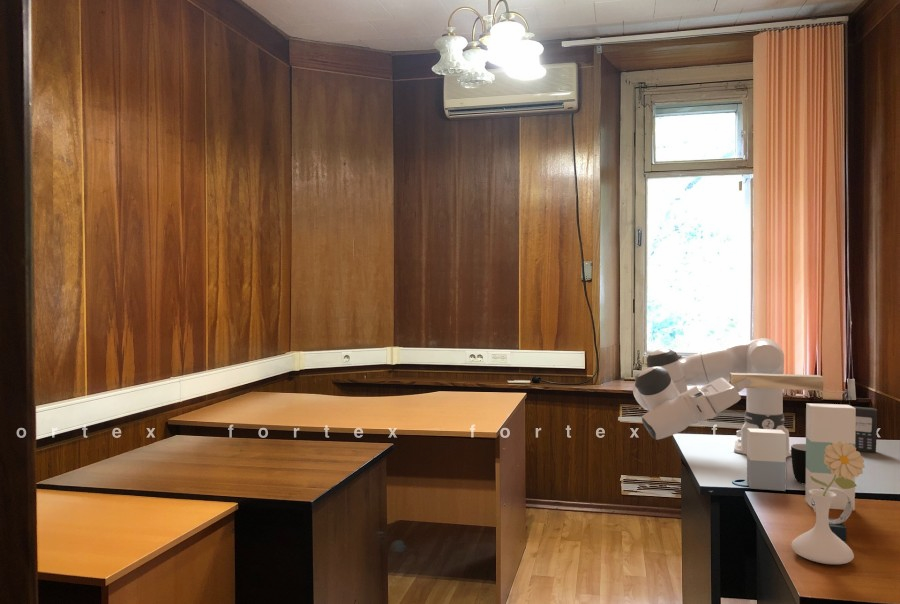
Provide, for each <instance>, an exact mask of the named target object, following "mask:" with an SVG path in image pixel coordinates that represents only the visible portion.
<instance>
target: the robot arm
mask: <svg viewBox="0 0 900 604" xmlns="http://www.w3.org/2000/svg"><path fill="white" fill-rule="evenodd" d="M646 366H647V368H645V369H644V370H642V371H641V372H639V373H638V374H637V375H636V376H635V377H634V380H635V381H634V383H633V387H632V393H633V396H634V398H635V401H636V402H637V404H639V405H640V407H641V408H643V409H644V410H646V411H648V412H646V413H644V414H643V415H642V416H641V421H642V424H643V426H644V428H645V429H646V431H647V432H648V434H649V435H650V437H652V439H654V440H657V441H658V440H662V439H666V438H669V437H671V436H673V435H677V434H679V433H680V432H682V431H684V430H686V429H687V428H688V427H689V426H692V425H694V424H699V423H701V422H702V421H705V420H712V419H714V418H716V417H717V414H718V413H721V412H723V411H725V410H726V409H728V408H730V407H731V406H734V405H735V404H737V403H738V402H739V401H741V399H742V397H741V395H740V392H741V391H743V390H744V389H746V410H745V411H744V424H743V425H742V427H741V428H740V429H738V430H736V437H737V438H738V440H737V439H736V440H735V442H734V447H733V452H734V453H736V454H737V453H738V454H743V455H746V456H747V428H753V429H775V430H782V431H783V432H785V433H786V458H787V457H788V458H789V457H791V447H790V432H789V430H788V428H787V427H785V425H784V424H785V414H784V413H783V411H784V410H783V404H784V403H783V395H784V392H783V391H784V389H760V388H745V387H747V386H749V385H751V381H750V379H749V378H745V379H743V380H741V381H740V382H738V383H735V384H733V385H731V384H730V373H754V374H785V373H784V371H785V354H784V351H783V349H782V347H781V346H780V345H779V344H778V343H777V342H776V341H774V340H772V339H770V338H767V337H766V338H765V337H761V338H760V337H759V338H756V339H752V340H747V341H743V342H740V343H735V344H732V345H729V346H725V347H721V348H717V349H710V350H707V351H702V352H697V353H694V354H690V355H687V356H685V357H682V355H680V354H678V353H677V352H676V351H674V350H672V349H670V348H669V349H668V348H659V349H656V350H653V352H651V353H649V354H648V355H647V357H646ZM700 385H703V386H702V387H701V388H700V387H699V386H700ZM688 386H692V388H689V389H688Z"/></svg>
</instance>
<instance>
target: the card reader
mask: <svg viewBox="0 0 900 604" xmlns="http://www.w3.org/2000/svg"><path fill="white" fill-rule="evenodd" d="M851 406H852V405H851ZM852 407H854V408H856V425H855V448H856V451H858V452H861V453H862V452H863V453H872V454H873V453H877V438H878V437H877V435H878V430H877V429H878V427H877V426H878V424H877V422H878V409H877V408H874V407H862V406H852Z"/></svg>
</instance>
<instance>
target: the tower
mask: <svg viewBox="0 0 900 604" xmlns="http://www.w3.org/2000/svg"><path fill="white" fill-rule="evenodd" d="M805 404H806V408H805V444H806V484H805V503H807V504H808V505H809V507H810V508H813V506H812V499H813V497H812V496H811V494H810V493H809V490H812V489H820V488H825V487H826V486H823V485H821V484H819V483H816V482H814V481H813V480H812V479H811V476H812V477H813V478H815V479H817V480H819V481H821V482H824V483H826V484H827V485H829V484H830V483H831V481H832V480H833V478H834V476H835V474H832V473H831V469H828V467H827V465H826V464H825V463H824V461H825V459H824V458H825V457H824V454H826V452H825V449H826V446H828V445H832V443H833V442H837V441H838V440H839V441H841V442H843V443H844V442H847V443H848V444H849V445H850V444H851V445H853V446H854V447H855V425H856V408H854V407H855V406H853V407H852V405H850V404H838V403H837V404H836V403H835V404H834V403H808V402H807V403H805ZM853 476H854V475H853ZM838 477H839V476H837V475H836V478H838ZM836 478H835V479H836ZM851 480H852V481H853V482H854V483H855V484H856V476H854V478H853V479H851ZM830 487H836V488H839V489H841V490H843V491H844V492H845V493H846V494H847V495H848V496H849V497H850V498H851V500H852V504H853V510H852V511H856V504H855V503H856V501H855V499H856V498H855V497H856V487H853V488H849V489H843V488H841V487H840V486H839V485H837V483H836V482H835V480H834V482H833V483H832V484H831V486H830ZM832 492H833V493H835V494H836V497H835V498H834V499H833V500H832V502H831V504H830V508H829V510H843V511H844V510H845V508H846V505H847V502H848V498H847V496H846V495H845V494H843V493H841V492H839V491H832Z"/></svg>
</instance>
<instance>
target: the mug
mask: <svg viewBox="0 0 900 604" xmlns="http://www.w3.org/2000/svg"><path fill="white" fill-rule="evenodd" d="M790 450H791V456H790V458H791V468H792V473H793V477H794V480H795V481H796V482H797V483H800V484H802V483H803V485H806V443H794V444H792V445H791V447H790Z"/></svg>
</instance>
